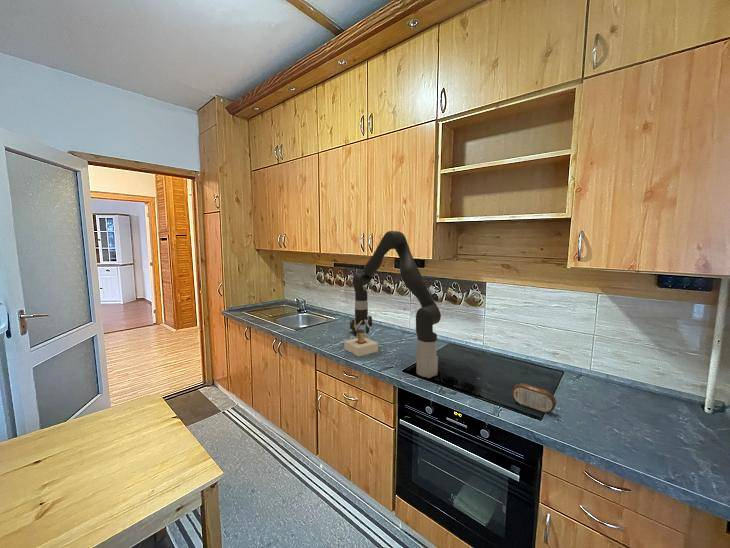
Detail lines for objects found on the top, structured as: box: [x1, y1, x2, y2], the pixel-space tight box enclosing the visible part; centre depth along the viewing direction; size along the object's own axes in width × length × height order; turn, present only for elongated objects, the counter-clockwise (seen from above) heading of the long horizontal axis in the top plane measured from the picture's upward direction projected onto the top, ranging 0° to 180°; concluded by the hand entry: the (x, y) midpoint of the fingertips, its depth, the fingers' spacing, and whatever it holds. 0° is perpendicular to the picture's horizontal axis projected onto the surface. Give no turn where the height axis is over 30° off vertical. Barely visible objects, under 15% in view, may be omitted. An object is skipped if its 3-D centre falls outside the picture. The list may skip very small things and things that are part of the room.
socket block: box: [344, 337, 379, 358], centre depth 176 cm, size 14×14×5 cm
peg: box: [357, 328, 366, 344], centre depth 176 cm, size 4×4×12 cm
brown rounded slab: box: [511, 383, 557, 414], centre depth 117 cm, size 15×3×8 cm, turn 48°
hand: (361, 334), depth 175 cm, fingers open, 8 cm apart
